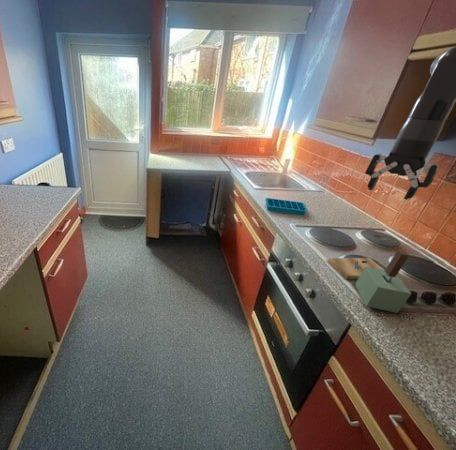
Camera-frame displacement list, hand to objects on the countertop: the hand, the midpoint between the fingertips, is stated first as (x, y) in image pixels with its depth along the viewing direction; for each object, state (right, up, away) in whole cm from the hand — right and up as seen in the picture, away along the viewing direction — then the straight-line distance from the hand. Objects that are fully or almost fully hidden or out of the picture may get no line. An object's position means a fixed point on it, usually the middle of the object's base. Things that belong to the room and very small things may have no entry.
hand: (387, 194), depth 74 cm
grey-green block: (+1, -33, +6) cm, 33 cm away
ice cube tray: (+2, -1, +63) cm, 63 cm away
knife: (+2, -32, +5) cm, 32 cm away
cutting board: (+6, -26, +18) cm, 32 cm away
